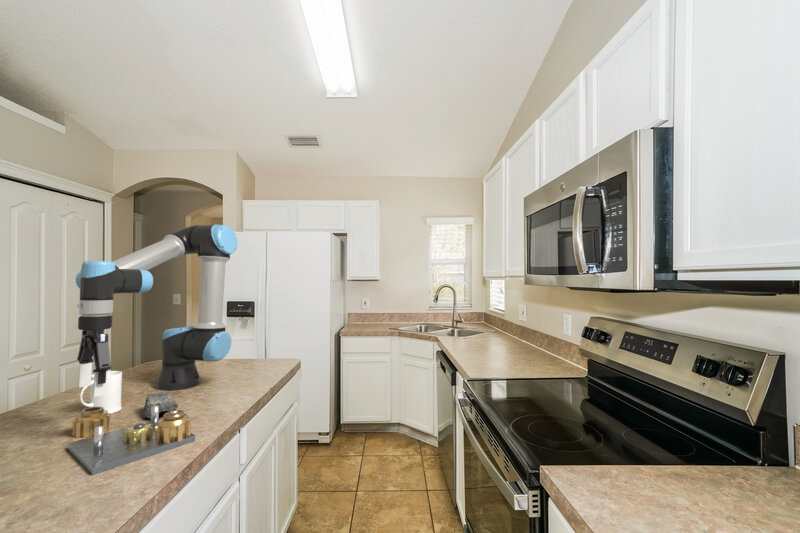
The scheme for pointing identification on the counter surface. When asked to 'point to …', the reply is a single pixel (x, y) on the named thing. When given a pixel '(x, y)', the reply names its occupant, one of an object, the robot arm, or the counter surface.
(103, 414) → the gear
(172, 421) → the carrier
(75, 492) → the counter surface
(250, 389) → the counter surface
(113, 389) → the mug
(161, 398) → the rock
